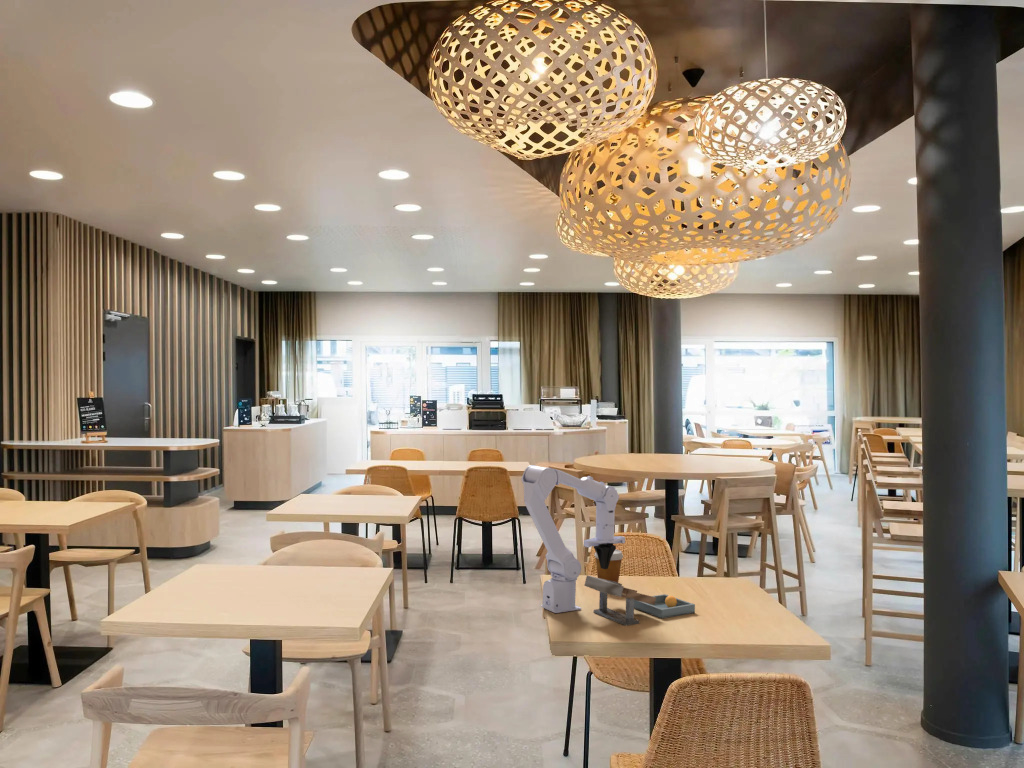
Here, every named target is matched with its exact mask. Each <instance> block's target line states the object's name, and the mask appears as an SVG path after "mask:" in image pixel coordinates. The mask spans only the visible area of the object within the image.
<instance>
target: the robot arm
mask: <svg viewBox="0 0 1024 768" xmlns="http://www.w3.org/2000/svg"><path fill="white" fill-rule="evenodd" d="M520 480H521V482H522V484H523V500H524V501H523V503H524V505H525V507H526V509H527V511H528V514H529V516H530V518H531V520H532V522H533V524H534V526H535V527H536V528H535V529H536V530H537V533H538V535H539V536H540V537H539V538H541V541H542V543H543V545H544V548H546V551H547V552H546V554H545V558H546V561H547V562H546V564H547V565H546V567H547V569H548V571H549V572H550V577H551V578H550V579H547V580H545V581H544V582H543V584H542V604H541V605H540V607H541V608H543V609H545V610H547V611H550V612H552V613H554V614H559V613H567V612H572V611H578V610H582V607H580V606H578V605H576V592H577V591H576V588H577V586H576V585H577V584H576V583H577V580H578V578H579V577H580V575H581V572H582V564H581V562H580V560H578V559H577V558H576V557H575V556H574V553H573V552H572V551H571V550H569V548H567V547H566V545H565V543H564V540H563V539H562V536H561V534H560V533H559V530H558V528H557V526H556V524H555V522H554V520H553V517H552V515H551V513H550V511H549V509H548V507H547V505H546V503H545V502H546V500H547V498H548V496H549V495H550V494H551V492H552V491H553V490H554V488H555V486H560V484H561V485H563V486H567V487H570V488H573V489H575V490H576V491H577V494H578V495H580V496H581V497H585V498H588V499H589V500H591V501H592V500H593V501H594V502H595V537H592V538H588V539H584V540H583V546H584V547H585V548H591V547H593V550H594V551H595V552H596V553H597V555H598V558H599V562H600V566H601V568H602V569H608V567H609V563H610V560H611V557H612V555H613V553H614V551H615V549H616V550H617V545H618V544H625V543H626V537H625V536H622V535H618V536H617V535H616V536H615V517H616V514H615V513H616V512H615V510H616V508H617V507H616V506H617V503H618V501H619V499H620V494H618V493H619V492H618V490H617V489H616V488H615V487H614V486H613V485H612V486H611V485H606V484H605V482H603V481H600V482H599V481H597V480H595V479H594V477H593V476H590V475H587V476H583V477H581V478H578V477H577V476H574V475H572V474H570V473H568V472H565V471H563V470H560V469H556V468H553V467H545V466H539V465H535V464H530V465H528V466H527V467H526V468H525V469H524V471H523V474H522V476H521V479H520ZM615 544H617V545H615Z"/></svg>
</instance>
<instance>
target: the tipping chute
mask: <svg viewBox="0 0 1024 768" xmlns="http://www.w3.org/2000/svg"><path fill="white" fill-rule="evenodd" d="M583 586H584V587H587V588H590V589H592V590H594V591H596V592H597V591H598V592H599V593H600V592H603V593H606V594H607V595H611V596H615V597H618V598H624V599H626V598H630V597H631V598H633V599H634V600H636V601H641V602H645V603H649V604H653V605H655V601H656V597H653V596H654V595H649V594H648V595H647V594H643V593H641V592H640V593H639V592H638V590H635V589H633V588H632V589H631V588H627V587H624V586H623V584H622V583H620V582H618V583H617V582H614V581H610V580H608V581H607V580H604V579H600V578H598V577H595V576H593V575H586V577H585V582H584V584H583Z"/></svg>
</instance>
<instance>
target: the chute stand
mask: <svg viewBox="0 0 1024 768" xmlns="http://www.w3.org/2000/svg"><path fill="white" fill-rule="evenodd" d="M598 600H599V602H598V607H599V608H596V609H593V613H594V614H596V615H598V616H601V617H603V618H606V619H608V620H610V621H613V622H614V623H615V622H616V623H618V624H620V625H623V626H632V625H639V624H640V620H639V619H636V618H634V617H635V616H634V615H635V608H634V599H633V598H631V597H630V598H625V613H621V612H619V611H616V610H614V609H612V608H609V607H608V594H606V593H603V592H600V591H599V599H598Z"/></svg>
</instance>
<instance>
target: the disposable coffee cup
mask: <svg viewBox="0 0 1024 768" xmlns="http://www.w3.org/2000/svg"><path fill="white" fill-rule="evenodd" d="M594 557H595V563H596V565H595V566H596V575H597V578H600V579H604V580H607V581H608V580H610V581H614V582H617V583H619V580H620V574H621V573H620V572H621V564H622V561H623V558H624V554H623V552H622V550H619V549H617V548H616V549H615V551H614V553H613V555H612V557H611V560H610V563H609V567H608V569H602V568H601V566H600V562H599V558H598V555H597V553H596V551H595V553H594Z"/></svg>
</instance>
